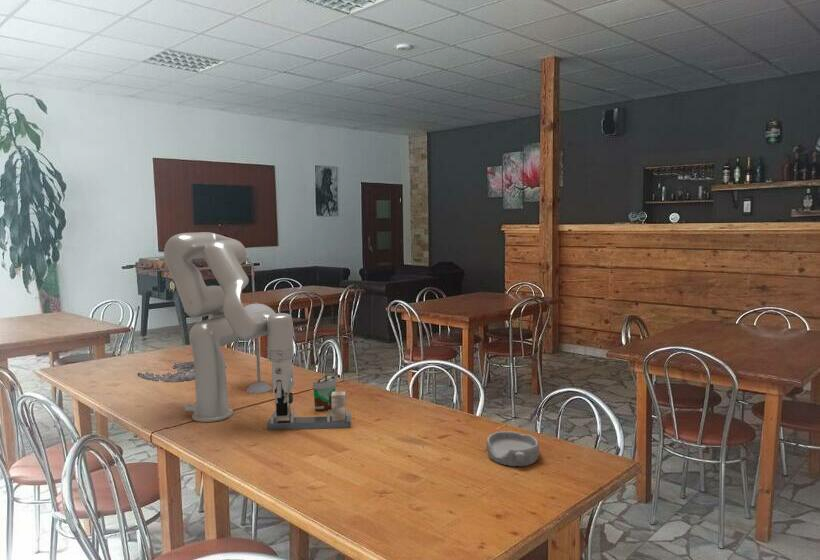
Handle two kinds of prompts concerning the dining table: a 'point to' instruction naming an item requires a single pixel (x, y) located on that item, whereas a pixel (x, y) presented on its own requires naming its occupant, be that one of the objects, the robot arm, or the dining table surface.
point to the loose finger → (289, 400)
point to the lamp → (258, 386)
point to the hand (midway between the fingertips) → (283, 412)
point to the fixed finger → (338, 405)
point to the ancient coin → (176, 377)
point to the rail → (308, 422)
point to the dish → (512, 448)
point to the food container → (324, 392)
